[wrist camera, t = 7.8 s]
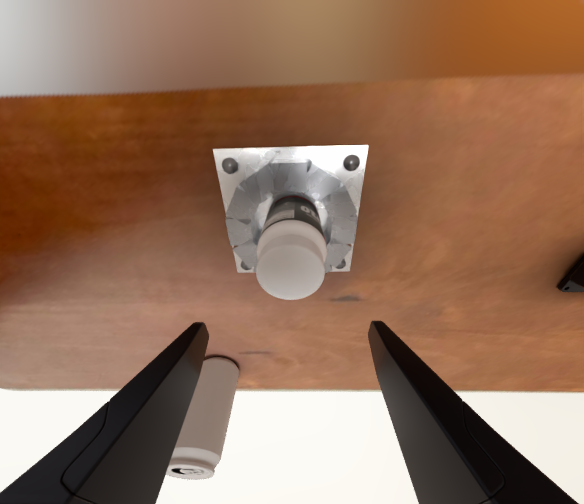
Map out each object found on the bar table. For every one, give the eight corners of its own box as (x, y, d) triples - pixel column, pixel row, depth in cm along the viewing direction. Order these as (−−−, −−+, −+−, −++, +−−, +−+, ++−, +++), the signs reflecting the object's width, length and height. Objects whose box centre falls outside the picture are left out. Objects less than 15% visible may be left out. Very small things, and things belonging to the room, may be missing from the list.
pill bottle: (326, 229, 20) (344, 289, 13) (282, 248, 21) (276, 314, 14) (305, 183, 17) (311, 225, 10) (257, 208, 19) (233, 260, 12)
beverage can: (193, 355, 32) (145, 465, 21) (235, 353, 31) (205, 464, 21) (207, 377, 35) (171, 482, 25) (244, 375, 35) (223, 481, 24)
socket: (366, 144, 16) (380, 148, 14) (348, 267, 23) (355, 286, 20) (215, 148, 17) (200, 153, 14) (238, 269, 23) (231, 288, 20)
